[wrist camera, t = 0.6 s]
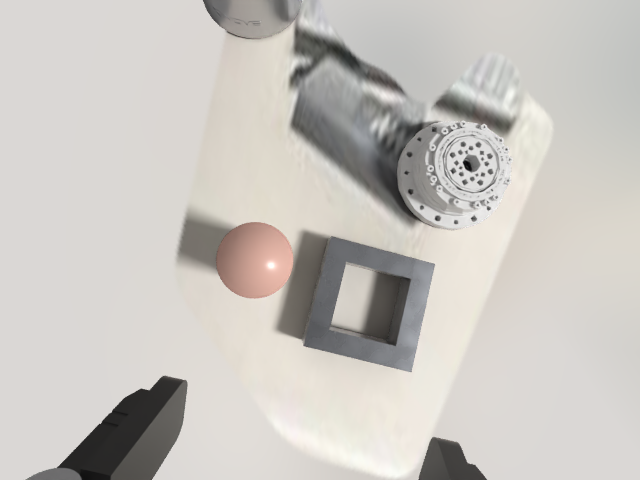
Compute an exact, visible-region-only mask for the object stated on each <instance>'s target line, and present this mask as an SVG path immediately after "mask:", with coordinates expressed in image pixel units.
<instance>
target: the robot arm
mask: <svg viewBox="0 0 640 480" xmlns="http://www.w3.org/2000/svg"><path fill="white" fill-rule="evenodd" d="M203 2H204V4H205V7H206V9H207V11H208V13H209V14H210V16H211V17H212V19H213V20H214V21H215V22H216V23H217V24H218V25H219V26H221V27H222V28H224V29H225V30H227V31H228V32H230V33H233V34H235V35H237V36H241V37H246V38H264V37H269V36H272V35H275V34H277V33H279V32H281V31H282V30H284V29H285V28H287V27H288V26H289V25H290V24H291V23H292V22H293V20H294V19H295V18H296V16H297V14H298V12H299V10H300V6H301V2H302V0H203ZM186 394H187V381H186V380H181V379H177V378H172V377H168V376H163V377H161V378H160V379H159V380H158V382H157V383H156V384H155V385H154V386H153V387H152V388H151V389H150V390H145V389H140V390H138V391H136V392H135V393H133V394H131V395H129V396H127V397H125V398H124V399H123V400H122V401H121V402H120V403H119V404H118V405H117V406H116V407H115V408H114V409H113V411H112V413H110V414H109V415H108V416H107V417H106V418H105V419H104V420H103V421H102V423H101V424H99V425H98V426H97V427H96V428H95V429H94V430H93V431H92V432H91V433H90V434H89V435H88V436H87V437H86V438H85V439H84V441H83V442H82V443H81V444H80V445H79V446H78V447H77V448H76V449H75V450H74V451H73V452H72V453H71V454H70V455H69V456H68V457H67V458H66V459H65V460H64V461H63V462H62V463H61V464H60V465H59V466H58V467H57V468H54V469H49V470H46V471H43V472H40V473H37V474H35V475H33V476H31V477H29V478H28V479H26V480H152V479H153V477H154V475H155V474H156V472H157V471H158V469H159V467H160V466H161V464H162V463H163V461H164V459H165V458H166V456H167V455H168V453H169V451H170V450H171V448H172V447H173V445H174V443H175V442H176V440H177V438H178V435H179V433H180V430H181V427H182V424H183V418H184V409H185V402H186ZM419 480H487V479H486V478H485V477H484V475H483V474H482V473H481V472H480V471H479V469H478V468H477V467H476V466H475V465H473V464H468V463H467V461H466V459H465V456H464V454H463V451H462V449H461V446H460V445H459V443H457V442H454V441H449V440H445V439H440V438H436V437H433V438H432V439H431V441H430V443H429V447H428V450H427V453H426V456H425V459H424V462H423V466H422V469H421V472H420V475H419Z"/></svg>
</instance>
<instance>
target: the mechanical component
mask: <svg viewBox="0 0 640 480" xmlns="http://www.w3.org/2000/svg"><path fill="white" fill-rule="evenodd" d="M503 142H504V139H503V138H502V137H498V135H496V134H495V133H494V132H492V131H491V130H490V129H488V128H487V126H486V125H485V124H483V125H479V124H477V123H471V122H465V121H461V122H458V121H442V122H437V123H434V124H431V125H429V126H427V127H425V128H424V129H422V130H420V131H419V132H418V133H417V134H416V135H415V136H414V137H413V138H412V139H411V140H410V141H409V142H408V143H407V145H406V147H405V148H404V150H403V151H402V153H401V156H400V159H399V161H398V168H397V180H398V189H399V191H400V193H401V196H402V198H403V200H404V202H405V204H406V206H407V207H408V208H409V209H410V211H411V212H412V213H413V214H414V215H415V216H417V217H418V218H419V219H420V220H421V221H423V222H424V223H427V224H429V225H431V226H434V227H436V228H440V229H448V230H457V229H462V228H467V227H470V226H473V225H476V224H479V223H480V222H482V221H483V220H485V219H487V218H488V217H489V216H490V215H491V214H492V213H493V212H494V211H495V210H496V209H497V207H498V205H499V203H500V201H501V199H502V197H503V195H504V191H505V190H506V188H507V186H508V184H510V183H511V179H510V176H511V163H512V161H513V159H512V157H509V154H508V152H509V147H507V146H505V145H504V144H503ZM408 192H409V193H410V194H409V193H408ZM435 218H436V220H435Z"/></svg>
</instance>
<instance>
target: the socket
mask: <svg viewBox="0 0 640 480" xmlns="http://www.w3.org/2000/svg"><path fill="white" fill-rule="evenodd" d="M346 264H349V265H353V266H357V267H361V268H364V269H368V270H372V271H376V272H380V273H383V274H387V275H391V276H395V277H399V278H401V282H400V286H399V291H398V295H397V299H396V304H395V308H394V313H393V317H392V321H391V326H390V330H389V335H388V339H387V340H385V339H381V338H377V337H373V336H369V335H365V334H361V333H357V332H353V331H349V330H344V329H340V328H336V327H332V326H330V325H331V321H332V317H333V313H334V309H335V305H336V301H337V297H338V293H339V289H340V285H341V281H342V277H343V273H344V269H345V265H346ZM434 266H435V264H433V263H429V262H425V261H422V260H418V259H414V258H410V257H407V256H403V255H399V254H396V253H392V252H388V251H384V250H381V249H377V248H373V247H369V246H366V245H362V244H358V243H354V242H351V241H347V240H343V239H339V238H336V237H332V236H331V237H330V238H329V239H328V240H327V244H326V248H325V252H324V256H323V260H322V264H321V268H320V272H319V276H318V280H317V284H316V287H315V291H314V295H313V299H312V303H311V307H310V311H309V315H308V319H307V323H306V327H305V331H304V334H303V338H302V341H303V346H306V347H310V348H314V349H318V350H322V351H326V352H331V353H335V354H339V355H343V356H347V357H351V358H355V359H359V360H363V361H367V362H371V363H376V364H380V365H384V366H388V367H392V368H396V369H400V370H404V371H408V372H412V367H413V362H414V358H415V353H416V349H417V344H418V339H419V335H420V330H421V326H422V321H423V316H424V312H425V307H426V303H427V298H428V294H429V289H430V284H431V280H432V275H433V271H434Z"/></svg>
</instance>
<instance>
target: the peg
mask: <svg viewBox="0 0 640 480" xmlns="http://www.w3.org/2000/svg"><path fill="white" fill-rule="evenodd" d="M216 265H217V271H218V274H219V276H220V278H221V280H222V281H223V283H224V284H225V285H226V287H227V288H229V289H230V290H231V291H232V292H234V293H235V294H237V295H240V296H242V297H246V298H262V297H266V296H269V295H271V294H273V293H275V292H276V291H278V290H279V289H280V288H281V287H282V286H283V285H284V284H285V283H286V281H287V280H288V278H289V276H290V274H291V271H292V267H293V252H292V249H291V246H290V244H289V242H288V240H287V238H286V237H285V236H284V235H283V234H282V233H281V232H280V231H279V230H278V229H276V228H275V227H273V226H271V225H268V224H265V223H259V222H251V223H245V224H242V225H240V226H238V227H236V228H234V229H233V230H231V231H230V232H229V233H228V234H227V235H226V236H225V237H224V239H223V240H222V242H221V244H220V245H219V248H218V251H217V257H216Z"/></svg>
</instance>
